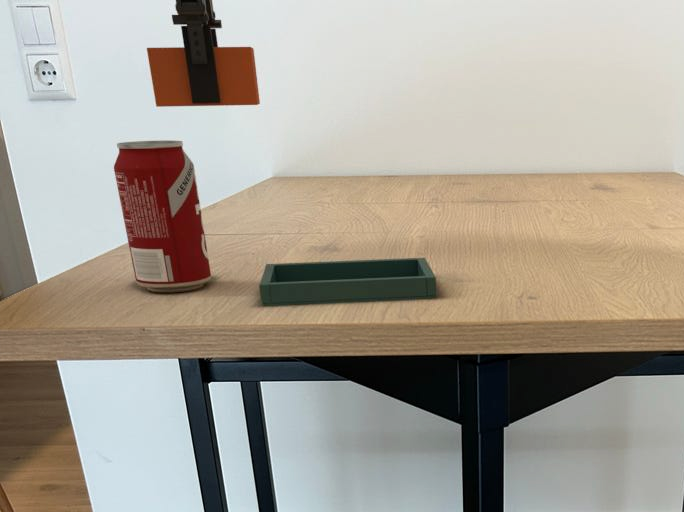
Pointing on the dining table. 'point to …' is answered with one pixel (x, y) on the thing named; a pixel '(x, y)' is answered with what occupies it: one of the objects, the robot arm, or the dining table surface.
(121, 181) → the soda can
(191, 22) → the robot arm
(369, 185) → the dining table surface
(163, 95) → the orange rectangular block
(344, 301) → the dark green tray
